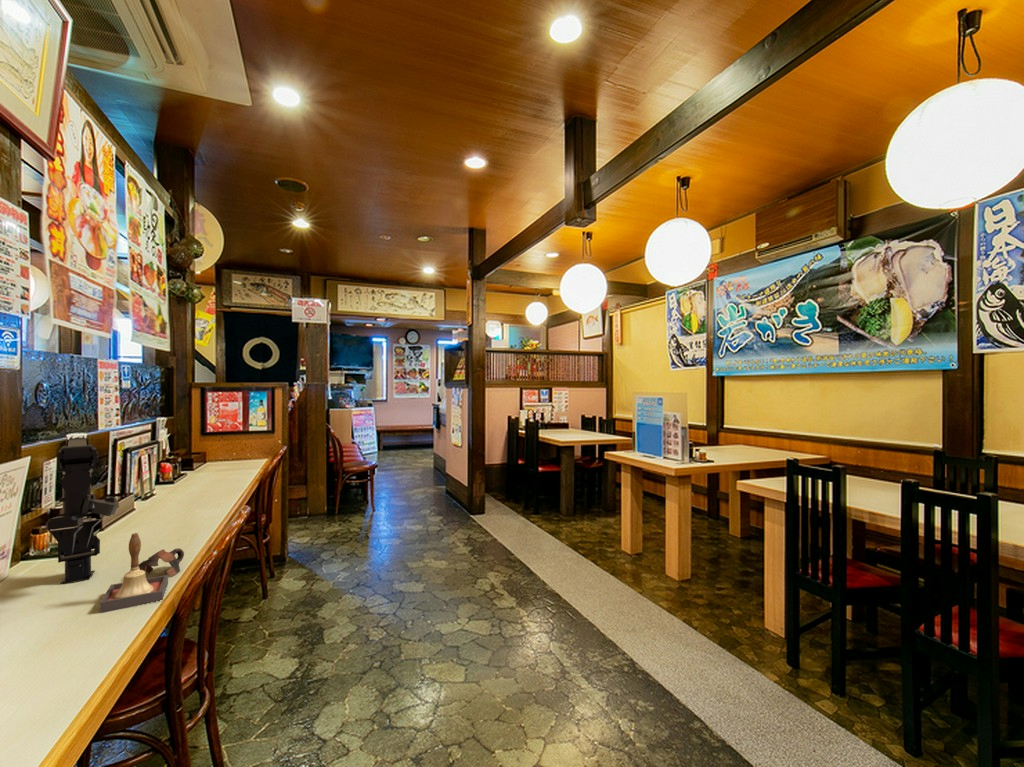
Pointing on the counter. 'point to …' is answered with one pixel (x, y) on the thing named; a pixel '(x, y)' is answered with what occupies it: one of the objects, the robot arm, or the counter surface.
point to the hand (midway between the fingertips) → (77, 551)
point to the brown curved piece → (166, 558)
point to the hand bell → (134, 573)
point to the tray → (114, 604)
